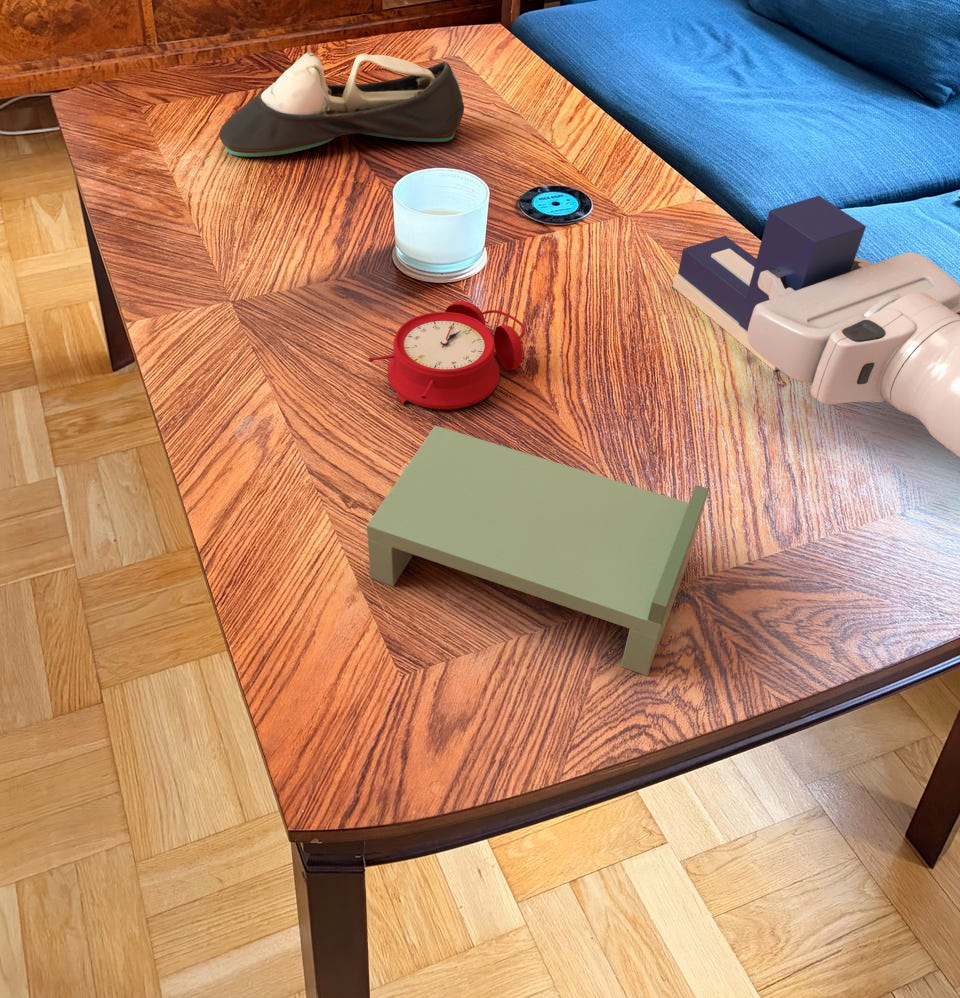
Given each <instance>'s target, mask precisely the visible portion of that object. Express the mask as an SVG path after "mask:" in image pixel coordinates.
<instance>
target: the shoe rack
mask: <svg viewBox="0 0 960 998" xmlns="http://www.w3.org/2000/svg"><path fill="white" fill-rule="evenodd" d="M709 491H710V489H709V488H708V487H706V486H705V487H704V486H702V485H698V484H696V485H695V486H694V488H693V491H692V493H691V497H690V499H689V501H688V502H687V501H684V500H680V499H677V498H674V497H671V496H667V495H664V494H662V493H658V492H654V491H651V490H648V489H644V488H641V487H639V486H634V485H632V484H629V483H625V482H621V481H618V480H615V479H612V478H610V477H605V476H603V475H599V474H595V473H593V472H590V471H585V470H583V469H579V468H576V467H572V466H570V465H566V464H563V463H559V462H557V461H553V460H550V459H546V458H543V457H540V456H538V455H537V456H536V455H534V454H530V453H527V452H525V451H520V450H518V449H515V448H511V447H507V446H504V445H502V444H498V443H494V442H491V441H487V440H485V439H481V438H479V437H475V436H471V435H468V434H465V433H462V432H458V431H455V430H451V429H449V428H445V427H442V426H439V425H434V426H433V428H432V429H431V431H430V432H429V434H428V435H427V436H426V438H425V439H424V441H423V442H422V444H421V445H420V447H419V448H418V449H417V451H416V452H415V454H414V456H413V457H412V458H411V460H410V461H409V462H408V464H407V466H406V467H405V469H404V470H403V472H402V473H401V474H400V476H399V477H398V478H397V481H396V482H395V483H394V485H393V486H392V488H391V489H390V491H389V492H388V494H387V495H386V496H385V497H384V499H383V501H382V502H381V504H380V505H379V507H378V508H377V510H376V511H375V512H374V514H373V516H372V517H371V518H370V519H369V521H368V523H367V524H366V535H367V549H368V564H369V575H370V576H369V577H370V579H372V580H374V581H376V582H380V583H383V584H386V585H388V586H391V587H394V586H395V585H396V583H397V582H398V580H399V578H400V577H401V575H402V573H403V572H404V570H405V569H406V567H407V565H408V564H409V562H410V560H411V559H412V557H413V556H417V557H419V558H423V559H425V560H429V561H431V562H434V563H437V564H439V565H443V566H446V567H448V568H451V569H455V570H456V571H460V572H463V573H466V574H469V575H472V576H475V577H477V578H481V579H483V580H487V581H489V582H492V583H496V584H498V585H501V586H504V587H507V588H510V589H512V590H515V591H519V592H522V593H523V594H527V595H530V596H533V597H536V598H538V599H542V600H545V601H548V602H551V603H554V604H556V605H560V606H562V607H565V608H569V609H571V610H574V611H577V612H580V613H583V614H585V615H588V616H591V617H594V618H597V619H600V620H604V621H606V622H609V623H612V624H615V625H618V626H620V627H624V628H625V629H626V628H627V629H629V631H628V635H627V638H626V642H625V643H626V644H625V647H624V651H623V655H622V660H621V664H620V666H621V668H624V669H626V670H629V671H631V672H635V673H638V674H640V675H643V676H646V677H647V676H649V673H650V671H651V668H652V665H653V663H654V659H655V657H656V654H657V652H658V648H659V645H660V643H661V641H662V637H663V634H664V631H665V629H666V626H667V623H668V620H669V617H670V614H671V611H672V609H673V606H674V603H675V600H676V597H677V595H678V592H679V590H680V586H681V584H682V580H683V579H684V575H685V572H686V569H687V568H688V564H689V561H690V558H691V554H692V550H693V548H694V543H695V540H696V537H697V533H698V529H699V526H700V523H701V519H702V515H703V512H704V510H705V509H704V508H705V505H706V501H707V497H708V494H709Z"/></svg>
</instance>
